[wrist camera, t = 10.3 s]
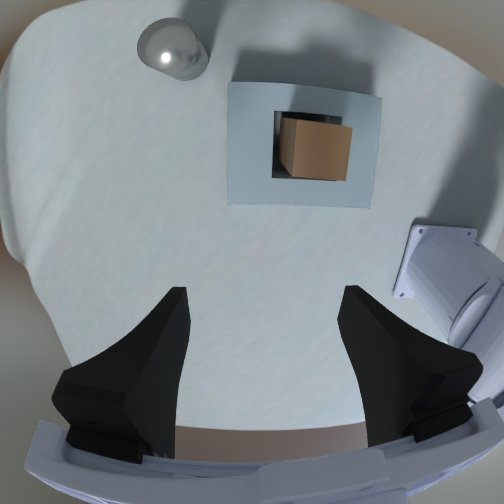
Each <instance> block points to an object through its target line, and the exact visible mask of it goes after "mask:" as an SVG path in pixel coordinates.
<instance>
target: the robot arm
mask: <svg viewBox="0 0 504 504" xmlns="http://www.w3.org/2000/svg"><path fill="white" fill-rule="evenodd" d="M420 229H421V231H420V232H419V230H420ZM468 232H469V233H468ZM476 237H477V230H476V229H474V228H462V227H448V226H434V225H418V224H416V225H414V226H413V227H412V228H411V232H410V236H409V240H408V244H407V247H406V251H405V255H404V258H403V262H402V265H401V269H400V272H399V275H398V278H397V282H396V285H395V288H394V291H393V294H392V295H393V297H394V298H395V299H400V298H412V297H416V298H417V299H418V300H419V302H420V303H421V304H422V306H423V307H424V308H425V310H426V311H427V312H428V314H429V315H430V317H431V318H432V319H433V321H434V322H435V324H436V325H437V326H438V328H439V329H440V331H441V332H442V334H443V335H444V337H445V338H446V340H447V341H448V344H445V343H443V342H440V341H438V340H436V339H434V338H432V337H430V336H428V335H426V334H424V333H422V332H420V331H419V330H417V329H415V328H414V327H412V326H410V325H409V324H407V323H406V322H404V321H403V320H402V319H400V318H399V317H397V316H396V315H395V314H393V313H392V312H391V311H389V310H388V309H387V308H386V307H384V306H383V305H382V304H381V303H379V302H378V301H377V300H376V299H374V298H373V297H372V296H371V295H370V294H368V293H367V292H366V291H365V290H363V289H362V288H361V287H359V286H358V285H352V286H345V290H344V295H343V299H342V303H341V307H340V311H339V314H338V318H337V321H338V325H339V330H340V334H341V338H342V340H343V343H344V345H345V348H346V351H347V353H348V356H349V358H350V361H351V364H352V366H353V369H354V372H355V374H356V377H357V380H358V384H359V389H360V393H361V397H362V403H363V408H364V413H365V420H366V428H367V438H368V448H365V449H359V450H354V451H349V452H344V453H339V454H333V455H327V456H321V457H314V458H306V459H297V460H288V461H276V462H257V463H220V462H200V461H199V462H198V461H186V460H177V459H175V422H176V407H177V396H178V387H179V381H180V377H181V372H182V368H183V364H184V359H185V355H186V351H187V347H188V342H189V335H190V325H191V320H190V313H189V305H188V298H187V290H186V287H172V288H171V289H170V290H169V291H168V293H167V294H166V295H165V296H164V297H163V298H162V300H161V301H160V302H159V303H158V304H157V305H156V306H155V308H154V309H153V310H152V311H151V312H150V313H149V314H148V315H147V316H146V317H145V318H144V319H143V320H142V321H141V322H140V323H139V324H138V325H137V326H136V327H135V328H134V329H133V330H132V331H131V332H129V333H128V334H127V335H126V336H125V337H123V338H122V339H121V340H119V341H118V342H117V343H115V344H114V345H112V346H111V347H109V348H108V349H106V350H105V351H103V352H101V353H100V354H98V355H96V356H95V357H93V358H91V359H89V360H87V361H85V362H83V363H81V364H78V365H76V366H74V367H71V368H69V369H67V370H64V371H63V373H62V375H61V377H60V379H59V381H58V383H57V385H56V388H55V390H54V392H53V395H52V398H51V399H52V402H53V404H54V406H55V407H56V409H57V410H58V411H59V412H60V413H61V415H62V416H63V417H64V418H65V419H66V420H67V421H68V423H69V424H70V429H69V431H67V430H66V429H64V428H62V427H59V426H57V425H54V424H51V423H48V422H45V421H42V420H41V421H40V422H39V424H38V427H37V429H36V432H35V435H34V438H33V440H32V443H31V446H30V449H29V452H28V455H27V458H26V461H25V464H24V469H25V470H26V471H28V472H29V473H31V474H32V475H34V476H35V477H37V478H38V479H40V480H42V481H43V482H45V483H47V484H48V485H50V486H51V487H53V488H55V489H57V490H59V491H62V492H64V493H66V494H69V495H71V496H74V497H76V498H79V499H81V500H84V501H87V502H90V503H92V504H409V502H408V499H407V497H409V496H411V495H413V494H416V493H418V492H420V491H422V490H424V489H427V488H429V487H431V486H433V485H435V484H437V483H439V482H441V481H443V480H445V479H447V478H449V477H450V476H452V475H454V474H456V473H458V472H460V471H461V470H463V469H465V468H467V467H469V466H470V465H472V464H474V463H475V462H477V461H479V460H480V459H481V458H482V457H484V456H485V455H486V454H488V453H489V452H490V451H492V450H493V449H494V448H495V447H496V446H498V445H499V444H500V443H501V442H502V441H503V440H504V262H503V261H502V260H501V259H499V258H498V257H497V256H496V255H495V254H493V253H492V252H491V251H490V250H488V249H487V248H486V247H485V246H484V245H482V244H481V243H480V242H478V241H477V240H476ZM401 293H402V294H401Z"/></svg>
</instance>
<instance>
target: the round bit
mask: <svg viewBox="0 0 504 504" xmlns="http://www.w3.org/2000/svg"><path fill="white" fill-rule="evenodd" d="M137 52H138V56H139V58H140V60H141V61H142V62H143V63H144V64H145V65H147V66H149V67H151V68H153V69H156V70H158V71H160V72H162V73H165V74H167V75H169V76H171V77H173V78H175V79H178V80H182V81H188V80H192V79H195V78H197V77H199V76H200V75H201V74H202V73H203V72H204V71H205V69H206V68H207V65H208V60H209V59H208V54H207V52H206V50H205V48H204V47H203V45H202V44H201V42H200V40H199V39H198V37H197V36H196V34H195V33H194V31H193V29H192V28H191V26H190V25H189V24H188V23H186V22H185V21H183V20H181V19H178V18H164V19H160V20H158V21H156V22H154V23H152V24H151V25H149V26H148V27H147V28H146V29H145V30H144V31H143V32H142V34H141V36H140V38H139V40H138V44H137Z"/></svg>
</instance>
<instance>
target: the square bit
mask: <svg viewBox="0 0 504 504" xmlns="http://www.w3.org/2000/svg"><path fill="white" fill-rule="evenodd" d="M352 129H353V128H352V127H347V126H342V125H337V124H332V123H326V122H319V121H312V120H303V119H294V118H283V117H281V121H280V135H279V148H278V159H279V160H280V161H281V163H282V164H283V165H284V167H285V168H286V169H287V171H288V172H289V173H290V175H291V176H292V177H305V178H317V179H328V180H338V181H346V176H347V169H348V162H349V154H350V146H351V138H352Z"/></svg>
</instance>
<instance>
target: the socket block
mask: <svg viewBox="0 0 504 504" xmlns="http://www.w3.org/2000/svg"><path fill="white" fill-rule="evenodd" d="M274 111H286V112H300V113H311V114H321V115H330V116H331V123H332V124H337V125H342V126H347V127H352V128H353V129H352V138H351V146H350V154H349V162H348V169H347V176H346V181H338V180H328V179H317V178H305V177H292V176H291V175H290V173H289V172H288V171H272V155H273V128H274ZM381 111H382V98H381V97H376V96H372V95H367V94H361V93H356V92H350V91H344V90H338V89H331V88H324V87H316V86H307V85H297V84H284V83H267V82H228V139H227V193H228V204H250V205H302V206H329V207H350V208H368V209H370V205H371V198H372V192H373V185H374V178H375V171H376V163H377V155H378V146H379V136H380V124H381Z"/></svg>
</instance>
